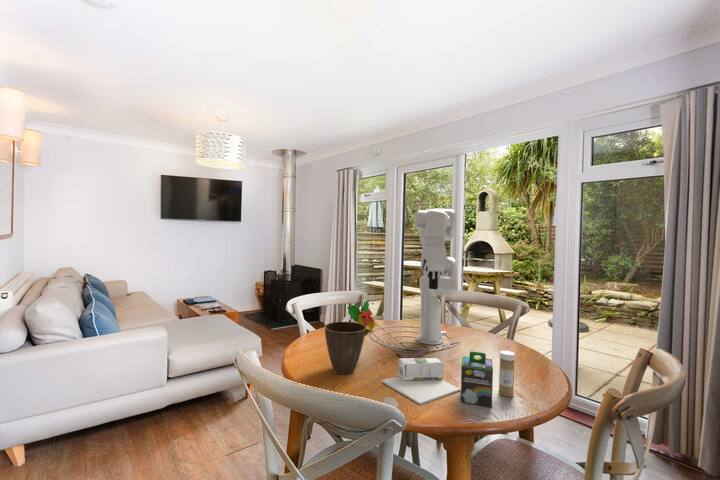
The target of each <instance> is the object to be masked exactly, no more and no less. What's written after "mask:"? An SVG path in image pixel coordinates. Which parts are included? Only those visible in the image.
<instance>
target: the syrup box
mask: <svg viewBox="0 0 720 480" xmlns="http://www.w3.org/2000/svg"><path fill="white" fill-rule="evenodd" d="M397 369H398V376H401V378H402V379H403V380H440V379H441V380H444V363H443V361H442V360H440V358H438V357H413V358H412V357H411V358H410V357H407V358H405V357H402V358H401V357H400V358H399V359H398V368H397Z"/></svg>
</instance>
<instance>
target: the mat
mask: <svg viewBox="0 0 720 480" xmlns="http://www.w3.org/2000/svg"><path fill="white" fill-rule="evenodd" d="M381 381H382V383H383V384H385V385H387V386H388V387H390V388H391V389H393V390H395V391H396V392H398V393H400V394H401V395H403V396H404V397H407V398H408V399H410V400H411V401H412V402H413V401H414V403H416V404H418V405H420V406H421V405H423V404H426V403H429V402H432V401H435V400H438V399H441V398H444V397H446V396H450V395H452V394H456V393H458V392H461V388H460V387H457V386H456V385H453V384H451V383H449V382H447V381H445V380H444V379H440V380H403V379H402V378H401V376H400V375H398V376H395V377H394V376H392V377H390V378H386V379H384V380H383V379H382V380H381Z"/></svg>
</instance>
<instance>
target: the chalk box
mask: <svg viewBox="0 0 720 480" xmlns="http://www.w3.org/2000/svg"><path fill="white" fill-rule="evenodd" d="M476 356H477V357H476ZM478 356H479V357H478ZM486 356H487V355H486V352H478V351H470V352H469V356H465V355H464V356H462V358H461V367H460V368H461V369H460V370H461V371H460V372H461V373H460V374H461V375H460V389H461V391H460V403H464V404H465V403H466V404H471V405H476V406H482V407H486V408H493V387H494V385H493V382H494V381H493V380H494V366H493V359H492V358H487V357H486Z"/></svg>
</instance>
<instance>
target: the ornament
mask: <svg viewBox="0 0 720 480" xmlns="http://www.w3.org/2000/svg"><path fill="white" fill-rule="evenodd" d="M369 306H370V303H369V299H366V300H365V301H363V305H362V308H360V305H358V306H357V303H355V304H354V305H353V304H352V303H351V305H350V306H347V310H348V315H349V316H350V318H349V319H350V320H352V322H354V323H359V324H362V325H364V326H365V327H366V330H365V332H369V331H370V330H373V329H374V328H375V327H376V326H377V324H378V322H377V321H376V320H375V319H374V317H372V315H373V312H372V310H371V309H370V308H369Z"/></svg>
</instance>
